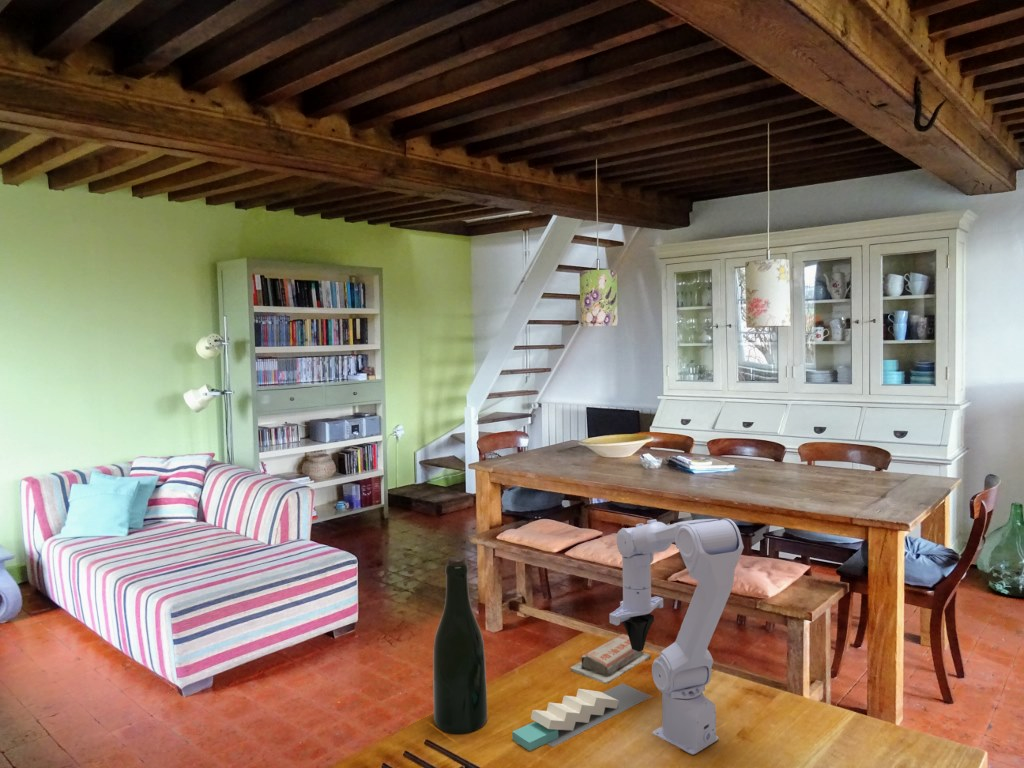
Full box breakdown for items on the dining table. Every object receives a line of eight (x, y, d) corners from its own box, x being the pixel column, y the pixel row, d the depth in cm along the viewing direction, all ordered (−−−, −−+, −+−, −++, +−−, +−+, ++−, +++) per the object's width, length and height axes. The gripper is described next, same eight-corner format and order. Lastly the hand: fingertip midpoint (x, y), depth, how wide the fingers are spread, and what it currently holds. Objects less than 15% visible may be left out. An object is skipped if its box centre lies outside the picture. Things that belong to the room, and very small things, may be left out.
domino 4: (586, 698, 151) (563, 695, 146) (605, 707, 147) (582, 704, 143) (584, 706, 150) (561, 703, 146) (603, 715, 147) (579, 713, 142)
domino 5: (600, 691, 153) (578, 688, 149) (618, 700, 150) (596, 697, 145) (598, 699, 153) (576, 696, 149) (616, 708, 149) (594, 705, 145)
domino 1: (540, 718, 143) (512, 731, 139) (558, 729, 139) (529, 742, 135) (541, 726, 143) (512, 739, 139) (558, 737, 139) (529, 751, 135)
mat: (651, 698, 154) (651, 696, 154) (552, 749, 136) (552, 746, 136) (622, 684, 160) (622, 683, 160) (524, 731, 142) (524, 729, 142)
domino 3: (572, 704, 148) (548, 702, 144) (590, 714, 144) (566, 712, 140) (570, 713, 148) (546, 710, 144) (588, 722, 144) (564, 720, 140)
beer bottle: (498, 722, 146) (494, 557, 143) (455, 743, 139) (450, 570, 136) (465, 703, 154) (461, 546, 151) (423, 721, 147) (418, 557, 144)
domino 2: (557, 711, 145) (532, 709, 141) (575, 721, 142) (551, 720, 137) (554, 720, 145) (530, 718, 141) (573, 730, 141) (548, 729, 137)
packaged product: (615, 628, 179) (651, 639, 173) (615, 648, 180) (651, 659, 173) (569, 653, 166) (606, 666, 159) (569, 674, 166) (606, 688, 160)
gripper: (644, 572, 160) (645, 633, 161) (598, 588, 151) (599, 653, 152) (671, 580, 155) (671, 643, 156) (624, 597, 145) (625, 664, 146)
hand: (637, 649), depth 153 cm, fingers closed
